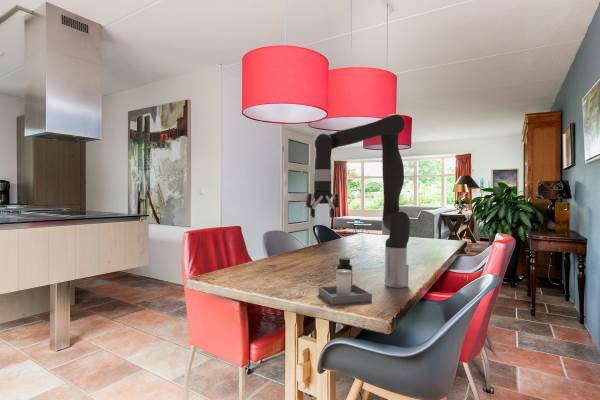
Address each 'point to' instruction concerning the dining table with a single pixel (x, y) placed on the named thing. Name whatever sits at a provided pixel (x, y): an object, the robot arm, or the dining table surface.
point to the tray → (356, 295)
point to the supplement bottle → (345, 265)
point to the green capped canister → (343, 282)
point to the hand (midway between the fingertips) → (322, 217)
